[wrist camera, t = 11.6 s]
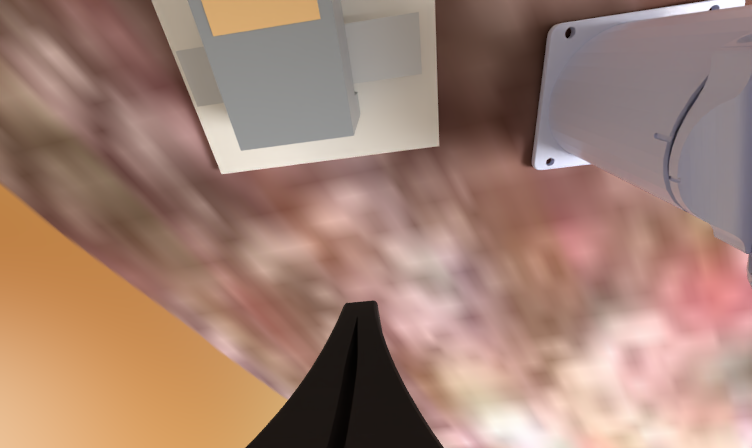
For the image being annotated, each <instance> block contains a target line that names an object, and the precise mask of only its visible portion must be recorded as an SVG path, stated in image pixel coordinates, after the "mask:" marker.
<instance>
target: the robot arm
mask: <svg viewBox="0 0 752 448" xmlns="http://www.w3.org/2000/svg"><path fill="white" fill-rule="evenodd" d="M710 8H712V10H710V11H709V9H710ZM568 28H570V29H571V35H570V36H569V37H568V38H566V37H565V32H566V30H567V29H568ZM549 158H551V162H550V163H548V164H546V161H547V160H548V159H549ZM588 164H593V165H595V166H597V167H599V168H601V169H602V170H604V171H606V172H608V173H610V174H612V175H614V176H616V177H618V178H620V179H622V180H624V181H626V182H628V183H630V184H632V185H634V186H636V187H638V188H640V189H642V190H644V191H646V192H648V193H650V194H652V195H654V196H656V197H658V198H660V199H662V200H664V201H666V202H668V203H670V204H672V205H674V206H676V207H678V208H680V209H682V210H684V211H686V212H688V213H690V214H692V215H694V216H696V217H698V218H699V219H701V220H703V221H705V222H707V223H709V224H710V225H711V227H712V228H713V231H714V236H715V237H716V238H718V239H720V240H722V241H724V242H726V243H728V244H730V245H731V246H733V247H735V248H737V249H739V250H741V251H743V252H744V253H746V254H749V257H748V263H747V277H748V281H749V283H750V285H751V287H752V5H747V6H745V0H708V1H702V2H695V3H689V4H682V5H676V6H669V7H663V8H656V9H650V10H643V11H637V12H630V13H624V14H617V15H611V16H604V17H598V18H591V19H585V20H578V21H572V22H565V23H559V24H556V25H554V26H553V27H552V28H551V29H550V30H549V32H548V36H547V43H546V51H545V59H544V67H543V75H542V83H541V91H540V99H539V107H538V115H537V123H536V131H535V139H534V147H533V155H532V166H533V167H534V168H535V169H537V170H546V169H555V168H563V167H571V166H580V165H588ZM246 448H444V447H443V446H442V445H441V443H440V442H439V440H438V439H437V437H436V436H435V434H434V433H433V432H432V430H431V429H430V427H429V425H428V424H427V422H426V421H425V419H424V418H423V416H422V415H421V413H420V411H419V409H418V408H417V406H416V404H415V403H414V401H413V399H412V397H411V396H410V394H409V392H408V390H407V389H406V387H405V385H404V383H403V381H402V379H401V377H400V375H399V373H398V371H397V369H396V367H395V364H394V362H393V360H392V357H391V355H390V353H389V350H388V348H387V345H386V342H385V339H384V336H383V333H382V328H381V322H380V316H379V311H378V305H377V302H376V301H365V302H354V303H346V304H345V305H344V307H343V309H342V312H341V314H340V316H339V319H338V321H337V323H336V325H335V327H334V329H333V331H332V333H331V335H330V337H329V339H328V341H327V342H326V344H325V346H324V348H323V350H322V351H321V353H320V355H319V356H318V358H317V360H316V361H315V363H314V365H313V366H312V368H311V369H310V371H309V372H308V374H307V375H306V377H305V378H304V380H303V381H302V382H301V384H300V385H299V387H298V388H297V389H296V391H295V392H294V393H293V394H292V396H291V397H290V398H289V400H288V401H287V402H286V403H285V405H284V406H283V407H282V408H281V410H280V411H279V412H278V413H277V414H276V415H275V417H274V418H273V419H272V420H271V421H270V422H269V423H268V425H267V426H266V427H265V428H264V429H263V430H262V431H261V432H260V433H259V434H258V435H257V437H256V438H255V439H254V440H253V441H252V442H251V443H250V444H249V445H248V446H247V447H246Z"/></svg>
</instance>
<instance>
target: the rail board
mask: <svg viewBox="0 0 752 448" xmlns="http://www.w3.org/2000/svg"><path fill="white" fill-rule="evenodd" d="M151 1H152V3H153V6H154V8H155V10H156V13H157V15H158V18H159V20H160V23H161V25H162V28H163V30H164V33H165V35H166V38H167V40H168V43H169V45H170V48H171V50H172V53H173V55H174V58H175V60H176V63H177V65H178V67H179V70H180V72H181V75H182V77H183V80H184V82H185V85H186V87H187V90H188V92H189V95H190V97H191V100H192V102H193V105H194V107H195V110H196V112H197V115H198V117H199V120H200V122H201V124H202V127H203V129H204V132H205V134H206V137H207V139H208V142H209V144H210V147H211V149H212V152H213V154H214V157H215V159H216V162H217V164H218V167H219V169H220V172H221V174H227V173H234V172H242V171H250V170H258V169H265V168H273V167H281V166H288V165H296V164H304V163H312V162H319V161H327V160H335V159H343V158H350V157H358V156H366V155H373V154H381V153H389V152H397V151H404V150H412V149H420V148H428V147H435V146H439V121H438V87H437V54H436V20H435V0H341V6H342V13H343V19H344V26H345V32H346V39H347V45H348V52H349V58H350V65H351V71H352V78H353V84H354V91H355V92H357V93H358V100H359V106H360V113H361V114H360V118H359V121H358V124H357V128H356V131H355V134H354V136H348V137H341V138H333V139H326V140H318V141H311V142H303V143H296V144H288V145H281V146H273V147H266V148H258V149H251V150H244V151H241V150H240V147H239V144H238V141H237V138H236V136H235V133H234V130H233V127H232V124H231V122H230V119H229V116H228V113H227V110H226V107H225V105H224V102H223V99H222V96H221V93H220V91H219V88H218V85H217V82H216V79H215V77H214V74H213V71H212V68H211V65H210V62H209V60H208V57H207V54H206V51H205V48H204V46H203V43H202V40H201V37H200V34H199V32H198V29H197V26H196V23H195V20H194V17H193V15H192V12H191V9H190V6H189V3H188V1H187V0H151Z"/></svg>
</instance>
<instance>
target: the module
mask: <svg viewBox="0 0 752 448" xmlns="http://www.w3.org/2000/svg"><path fill="white" fill-rule="evenodd" d="M187 1H188V3H189V6H190V9H191V12H192V15H193V17H194V20H195V23H196V26H197V29H198V32H199V34H200V37H201V40H202V43H203V46H204V48H205V51H206V54H207V57H208V60H209V62H210V65H211V68H212V71H213V74H214V77H215V79H216V82H217V85H218V88H219V91H220V93H221V96H222V99H223V102H224V105H225V107H226V110H227V113H228V116H229V119H230V122H231V124H232V127H233V130H234V133H235V136H236V138H237V141H238V144H239V147H240V150H241V151H244V150H251V149H258V148H266V147H273V146H281V145H288V144H296V143H303V142H311V141H318V140H326V139H333V138H341V137H348V136H354V134H355V131H356V128H357V124H358V121H359V118H360V114H361V113H360V106H359V100H358V93H357V92H355V91H354V84H353V78H352V71H351V65H350V58H349V52H348V45H347V39H346V32H345V26H344V19H343V13H342V6H341V0H187Z"/></svg>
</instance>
